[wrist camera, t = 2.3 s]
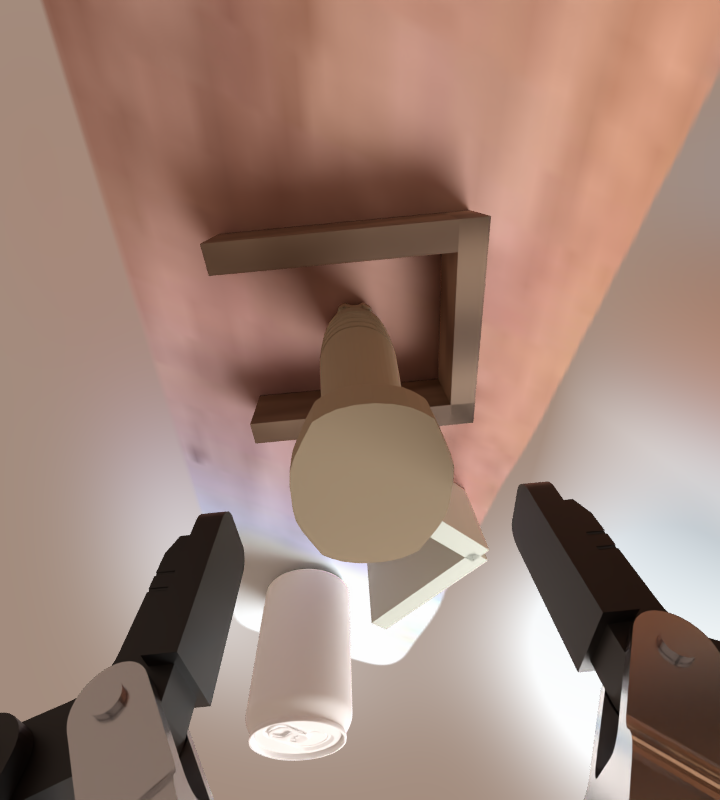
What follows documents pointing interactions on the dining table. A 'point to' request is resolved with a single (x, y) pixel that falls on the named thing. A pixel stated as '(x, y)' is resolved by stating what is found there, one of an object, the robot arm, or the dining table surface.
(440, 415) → the u-shaped bracket
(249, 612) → the dining table surface
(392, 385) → the handle
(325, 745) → the beverage can
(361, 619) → the dining table surface
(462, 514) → the cream l-shaped bracket
